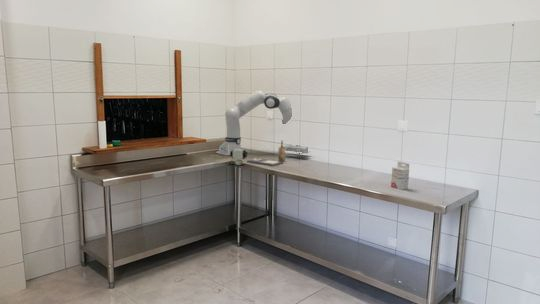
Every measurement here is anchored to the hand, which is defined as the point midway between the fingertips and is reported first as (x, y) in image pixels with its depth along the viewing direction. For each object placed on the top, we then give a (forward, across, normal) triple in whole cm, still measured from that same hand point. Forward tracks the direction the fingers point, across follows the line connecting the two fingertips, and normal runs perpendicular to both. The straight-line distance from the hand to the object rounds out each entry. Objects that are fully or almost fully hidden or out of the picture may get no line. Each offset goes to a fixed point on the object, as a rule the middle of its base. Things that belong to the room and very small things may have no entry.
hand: (290, 150), depth 321 cm
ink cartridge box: (+34, +99, +8) cm, 105 cm away
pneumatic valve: (+43, -16, +7) cm, 47 cm away
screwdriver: (+12, 0, +7) cm, 14 cm away
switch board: (+25, -6, +7) cm, 27 cm away
